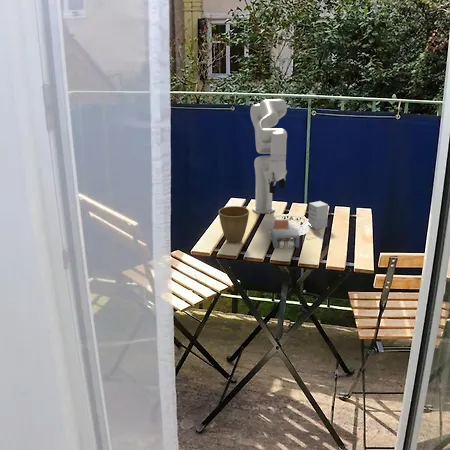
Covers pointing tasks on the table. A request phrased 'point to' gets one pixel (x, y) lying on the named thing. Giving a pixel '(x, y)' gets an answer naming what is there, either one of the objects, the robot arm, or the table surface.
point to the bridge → (285, 234)
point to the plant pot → (234, 223)
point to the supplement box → (318, 214)
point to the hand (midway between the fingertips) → (277, 190)
